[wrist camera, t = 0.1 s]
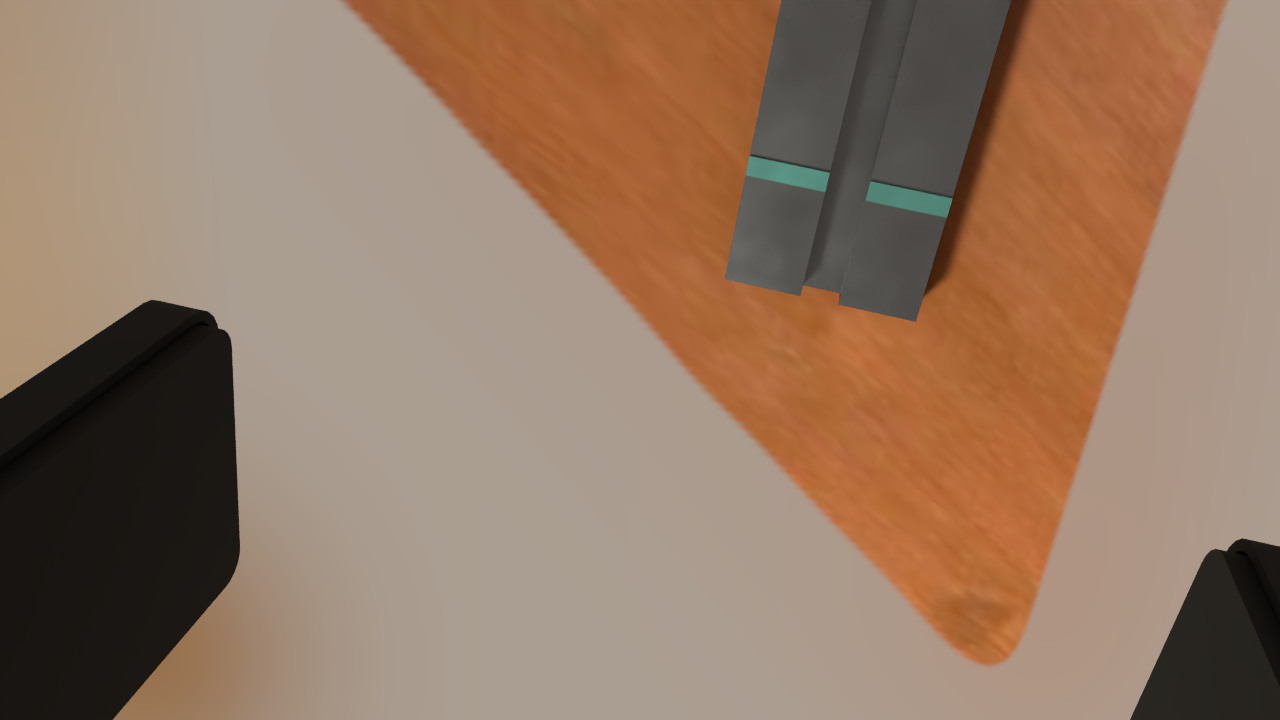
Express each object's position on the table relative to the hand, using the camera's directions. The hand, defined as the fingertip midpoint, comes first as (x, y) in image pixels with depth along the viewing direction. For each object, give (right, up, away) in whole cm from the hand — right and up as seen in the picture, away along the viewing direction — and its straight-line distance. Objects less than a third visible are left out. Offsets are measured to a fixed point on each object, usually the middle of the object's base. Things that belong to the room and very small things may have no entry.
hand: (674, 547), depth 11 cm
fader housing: (+9, +15, +32) cm, 37 cm away
